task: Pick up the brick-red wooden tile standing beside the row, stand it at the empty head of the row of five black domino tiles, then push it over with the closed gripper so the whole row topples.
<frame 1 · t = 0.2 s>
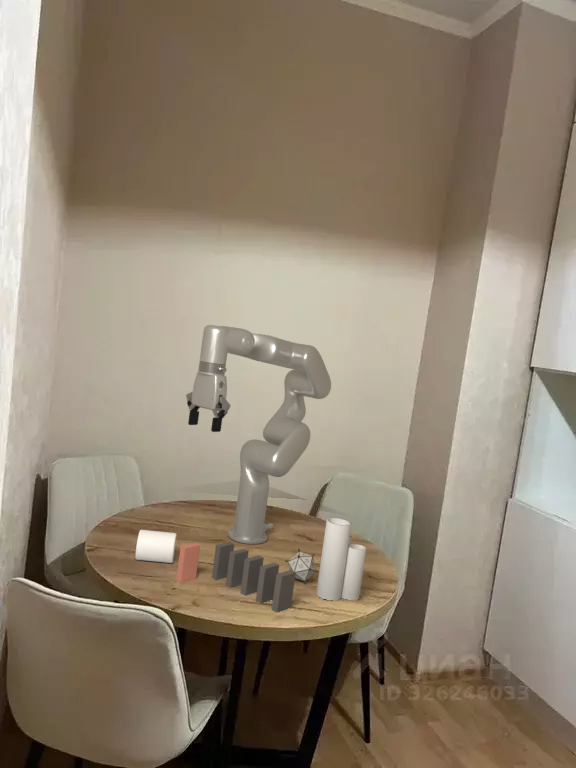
hand: (204, 428, 184), 36 cm above the table, tool pointing down, fingers open, 9 cm apart
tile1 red: (186, 579, 167), on the table
vase: (336, 596, 170), on the table
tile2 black: (220, 577, 171), on the table
game die: (299, 580, 177), on the table
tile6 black: (281, 608, 157), on the table
tile3 black: (235, 584, 168), on the table
mug: (155, 558, 179), on the table
tile4 black: (249, 592, 164), on the table
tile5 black: (265, 600, 161), on the table
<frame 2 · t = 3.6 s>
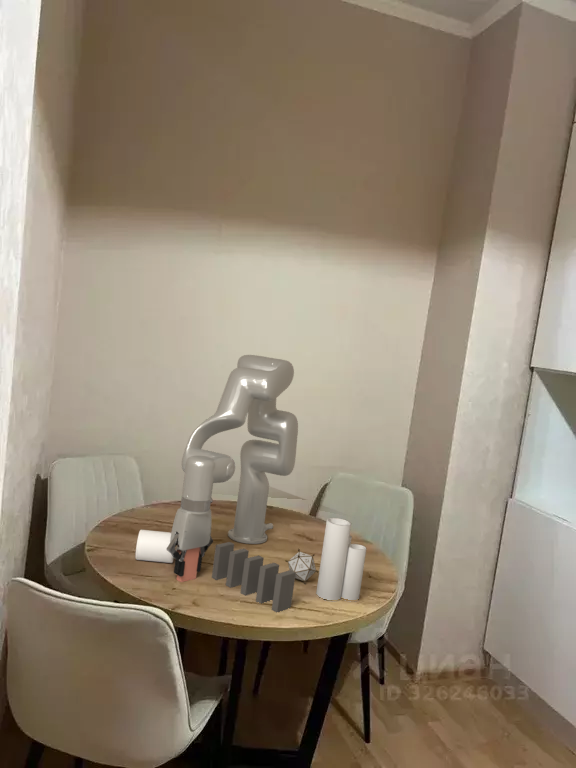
hand: (187, 571, 167), 2 cm above the table, tool pointing down, fingers closed on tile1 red, 4 cm apart
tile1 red: (186, 579, 167), on the table, touching gripper
everything else where it was.
when the fingers open (3 cm above the table, at t = 8.9 s): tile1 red stays where it is, on the table.
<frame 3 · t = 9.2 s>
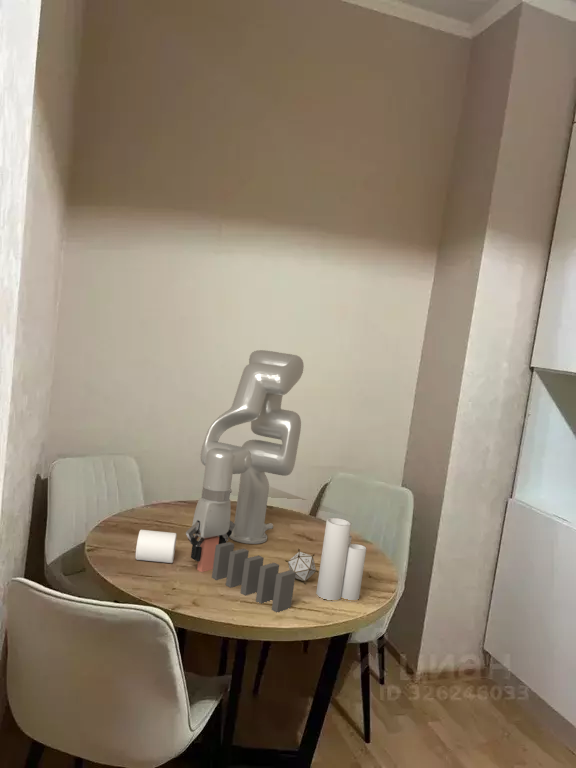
hand: (207, 556, 175), 4 cm above the table, tool pointing down, fingers open, 8 cm apart
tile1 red: (206, 569, 175), on the table
everything else where it was.
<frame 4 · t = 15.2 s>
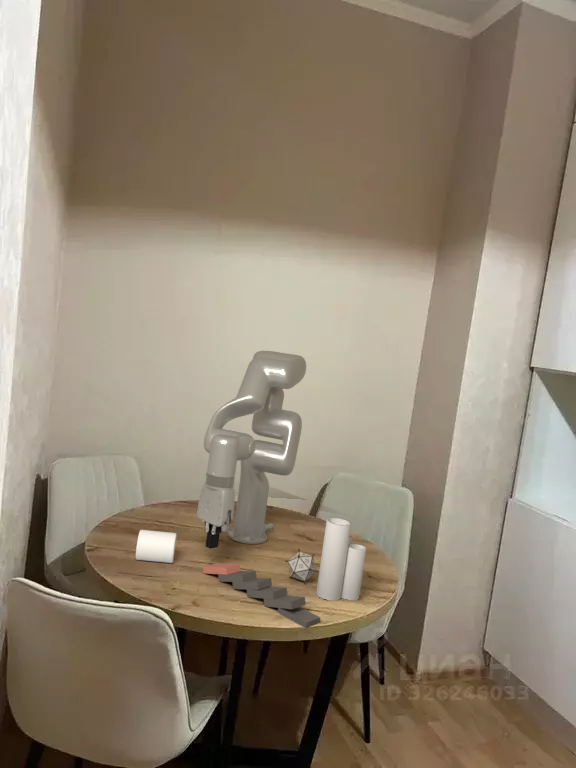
hand: (211, 546, 174), 7 cm above the table, tool pointing down, fingers closed
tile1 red: (210, 568, 174), point 1 cm above the table, tilted 72°
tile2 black: (225, 576, 170), point 1 cm above the table, tilted 71°, touching tile3 black
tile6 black: (284, 608, 156), on the table, tilted 90°, touching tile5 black
tile3 black: (239, 583, 167), point 1 cm above the table, tilted 71°, touching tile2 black
tile4 black: (254, 591, 163), point 1 cm above the table, tilted 73°, touching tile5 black
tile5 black: (271, 600, 159), point 1 cm above the table, tilted 73°, touching tile4 black, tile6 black
everything else where it was.
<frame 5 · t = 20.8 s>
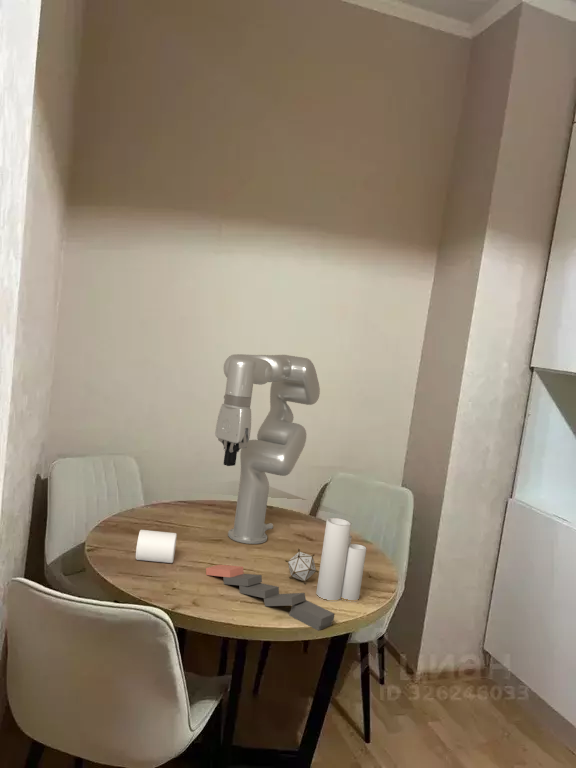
hand: (229, 464, 184), 27 cm above the table, tool pointing down, fingers closed
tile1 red: (213, 569, 173), point 1 cm above the table, tilted 74°, touching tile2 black
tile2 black: (230, 578, 169), point 1 cm above the table, tilted 73°, touching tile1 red
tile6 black: (296, 612, 156), on the table, tilted 90°, touching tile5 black
tile3 black: (246, 587, 165), point 1 cm above the table, tilted 78°, touching tile4 black
tile4 black: (271, 600, 159), point 1 cm above the table, tilted 67°, touching tile3 black, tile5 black
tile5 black: (298, 605, 155), point 2 cm above the table, tilted 90°, touching tile4 black, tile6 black
everything else where it was.
at the end: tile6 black tilted 90°; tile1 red tilted 74°; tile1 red inside the target area (1.8 cm from its centre), point 0.9 cm above the table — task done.
